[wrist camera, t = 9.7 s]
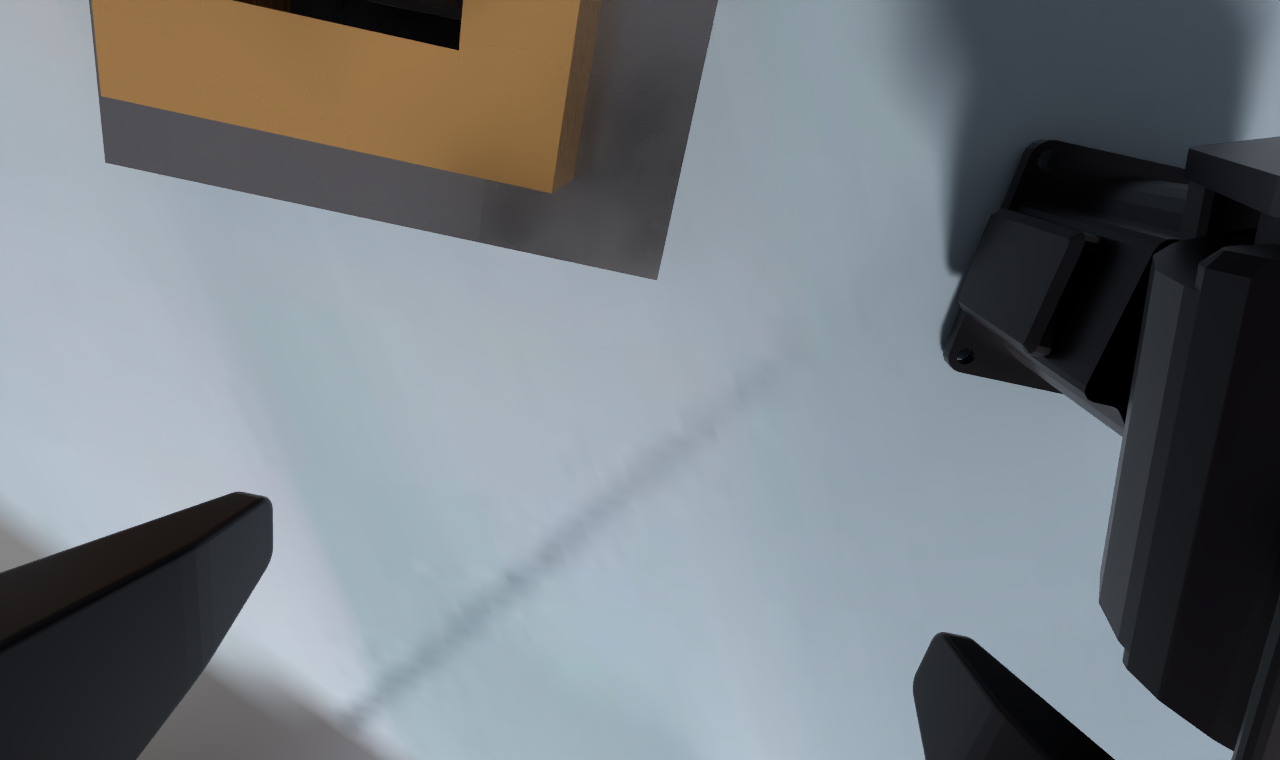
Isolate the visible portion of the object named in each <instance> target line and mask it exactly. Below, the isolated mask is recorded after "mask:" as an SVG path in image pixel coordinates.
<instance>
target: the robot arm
mask: <svg viewBox="0 0 1280 760" xmlns="http://www.w3.org/2000/svg"><path fill="white" fill-rule="evenodd" d="M1045 151H1048V152H1049V153H1050V156H1051V158H1050V162H1049V164H1048V165H1047V166H1046V167H1045V168H1043V169H1040V168H1039V166H1038V159H1039V157H1040V156H1041V154H1042V153H1044V152H1045ZM958 302H959V304H960V306H961V308H960V311H959V313H958V316H957V318H956V321H955V323H954V325H953V328H952V330H951V333H950V335H949V338H948V340H947V343H946V345H945V348H944V353H943V356H944V360H945V361H946V362H947V364H948V365H949V366H950V367H952V368H953V369H954V370H956V371H958V372H961V373H966V374H971V375H976V376H980V377H985V378H990V379H994V380H999V381H1004V382H1009V383H1013V384H1018V385H1023V386H1027V387H1032V388H1037V389H1042V390H1046V391H1051V392H1056V393H1060V394H1064V395H1066V396H1067V397H1068V398H1070V399H1071V400H1072V401H1074V402H1075V403H1077V404H1078V405H1079V406H1081V407H1082V408H1083V409H1085V410H1086V411H1088V412H1089V413H1090V414H1092V415H1093V416H1094V417H1096V418H1097V419H1098V420H1100V421H1101V422H1103V423H1104V424H1105V425H1107V426H1108V427H1109V428H1111V429H1112V430H1114V431H1115V432H1116V433H1118V434H1119V435H1120V436H1122V437H1123V439H1122V445H1121V451H1120V457H1119V463H1118V469H1117V475H1116V481H1115V487H1114V493H1113V499H1112V505H1111V511H1110V517H1109V523H1108V529H1107V535H1106V541H1105V547H1104V553H1103V559H1102V565H1101V571H1100V589H1099V604H1100V606H1101V608H1102V610H1103V612H1104V614H1105V616H1106V618H1107V620H1108V621H1109V623H1110V625H1111V627H1112V629H1113V631H1114V633H1115V635H1116V637H1117V639H1118V641H1119V642H1120V643H1121V644H1122V646H1123V647H1124V648H1125V649H1124V654H1123V663H1124V665H1125V667H1126V669H1127V670H1128V671H1129V672H1130V673H1131V674H1132V675H1134V676H1135V677H1136V678H1137V679H1138V680H1139V681H1140V682H1141V683H1142V684H1143V685H1144V686H1145V687H1146V688H1147V689H1148V690H1149V691H1150V692H1151V693H1152V694H1153V695H1154V696H1155V697H1156V698H1157V699H1158V700H1159V701H1160V702H1162V703H1163V704H1165V705H1166V706H1167V707H1169V708H1170V709H1171V710H1173V711H1174V712H1176V713H1177V714H1178V715H1180V716H1181V717H1183V718H1184V719H1185V720H1187V721H1188V722H1189V723H1191V724H1192V725H1194V726H1195V727H1196V728H1198V729H1199V730H1201V731H1202V732H1203V733H1205V734H1206V735H1207V736H1209V737H1210V738H1212V739H1213V740H1215V741H1216V742H1218V743H1220V744H1222V745H1223V746H1225V747H1227V748H1229V749H1231V750H1232V751H1234V753H1233V757H1232V760H1280V137H1272V138H1263V139H1254V140H1246V141H1237V142H1228V143H1220V144H1211V145H1202V146H1194V147H1190V148H1189V150H1188V156H1187V162H1186V167H1185V169H1182V168H1178V167H1173V166H1169V165H1164V164H1160V163H1155V162H1151V161H1146V160H1142V159H1137V158H1133V157H1129V156H1124V155H1120V154H1115V153H1111V152H1106V151H1102V150H1097V149H1093V148H1088V147H1084V146H1079V145H1075V144H1070V143H1066V142H1061V141H1057V140H1039V141H1036V142H1034V143H1032V144H1031V145H1030V146H1029V147H1027V148H1026V150H1025V152H1024V153H1023V155H1022V157H1021V159H1020V162H1019V164H1018V167H1017V169H1016V172H1015V174H1014V177H1013V179H1012V182H1011V184H1010V187H1009V189H1008V192H1007V194H1006V197H1005V199H1004V202H1003V204H1002V207H1001V209H1000V210H998V211H997V212H995V213H994V214H992V215H991V216H990V218H989V221H988V223H987V226H986V228H985V231H984V233H983V236H982V238H981V241H980V243H979V246H978V248H977V251H976V253H975V256H974V258H973V261H972V263H971V266H970V268H969V271H968V273H967V276H966V278H965V281H964V283H963V286H962V288H961V291H960V293H959V296H958ZM964 348H969V349H970V351H969V354H968V356H967V357H966V358H964V359H962V360H957V355H958V353H959V352H960V351H961V350H962V349H964ZM272 552H273V508H272V503H271V501H270V500H269V499H268V498H267V497H265V496H260V495H255V494H250V493H245V492H234V493H230V494H228V495H225V496H222V497H219V498H216V499H213V500H210V501H207V502H204V503H201V504H199V505H196V506H193V507H190V508H187V509H184V510H181V511H178V512H175V513H172V514H170V515H167V516H164V517H161V518H158V519H155V520H152V521H149V522H146V523H143V524H140V525H138V526H135V527H132V528H129V529H126V530H123V531H120V532H117V533H114V534H111V535H109V536H106V537H103V538H100V539H97V540H94V541H91V542H88V543H85V544H82V545H80V546H77V547H74V548H71V549H68V550H65V551H62V552H59V553H56V554H53V555H50V556H48V557H45V558H42V559H39V560H36V561H33V562H30V563H27V564H24V565H22V566H19V567H16V568H13V569H10V570H7V571H4V572H1V573H0V760H136V759H137V758H138V757H139V755H140V754H141V753H142V751H143V750H144V749H145V747H146V746H147V745H148V744H149V742H150V741H151V739H152V738H153V737H154V736H155V734H156V733H157V731H158V730H159V729H160V728H161V726H162V725H163V724H164V723H165V721H166V720H167V718H168V717H169V716H170V715H171V713H172V712H173V711H174V709H175V708H176V707H177V705H178V704H179V703H180V701H181V700H182V699H183V698H184V696H185V694H187V692H188V691H189V690H190V688H191V687H192V685H193V684H194V683H195V681H196V680H197V679H198V677H199V676H200V675H201V673H202V672H203V670H204V669H205V667H206V666H207V664H208V663H209V661H210V660H211V658H212V656H213V655H214V653H215V652H216V650H217V649H218V647H219V645H220V644H221V642H222V640H223V639H224V637H225V635H226V634H227V632H228V631H229V629H230V627H231V626H232V624H233V622H234V621H235V619H236V617H237V616H238V614H239V613H240V611H241V609H242V608H243V606H244V604H245V603H246V601H247V599H248V598H249V596H250V595H251V593H252V591H253V590H254V588H255V586H256V585H257V583H258V581H259V580H260V578H261V576H262V575H263V573H264V572H265V570H266V568H267V566H268V564H269V562H270V559H271V556H272ZM913 695H914V701H915V707H916V712H917V717H918V723H919V728H920V733H921V739H922V744H923V749H924V755H925V760H1115V759H1113V758H1112V757H1111V756H1110V755H1109V754H1108V753H1106V752H1105V751H1104V750H1103V749H1102V748H1100V747H1099V746H1098V745H1097V744H1096V743H1095V742H1093V741H1092V740H1091V739H1090V738H1089V737H1087V736H1086V735H1085V734H1084V733H1083V732H1082V731H1080V730H1079V729H1078V728H1077V727H1076V726H1074V725H1073V724H1072V723H1071V722H1070V721H1069V720H1067V719H1066V718H1065V717H1064V716H1063V715H1061V714H1060V713H1059V712H1058V711H1057V710H1056V709H1054V708H1053V707H1052V706H1051V705H1050V704H1048V703H1047V702H1046V701H1045V700H1044V699H1043V698H1041V697H1040V696H1039V695H1038V694H1037V693H1035V692H1034V691H1033V690H1032V689H1031V688H1030V687H1028V686H1027V685H1026V684H1025V683H1024V682H1022V681H1021V680H1020V679H1019V678H1018V677H1017V676H1015V675H1014V674H1013V673H1012V672H1011V671H1009V670H1008V669H1007V668H1006V667H1005V666H1004V665H1002V664H1001V663H1000V662H999V661H998V660H996V659H995V658H994V657H993V656H992V655H991V654H989V653H988V652H987V651H986V650H985V649H983V648H982V647H981V646H980V645H979V644H978V643H976V642H975V641H974V640H973V639H971V638H969V637H966V636H961V635H956V634H951V633H946V632H941V633H938V634H936V635H935V636H934V638H933V639H932V641H931V643H930V645H929V647H928V649H927V651H926V653H925V655H924V657H923V660H922V662H921V664H920V666H919V668H918V670H917V672H916V674H915V677H914V681H913Z"/></svg>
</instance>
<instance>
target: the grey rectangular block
mask: <svg viewBox="0 0 1280 760" xmlns="http://www.w3.org/2000/svg"><path fill="white" fill-rule="evenodd" d="M369 1H371V2H374V3H377V4H382V5H387V6H392V7H397V8H402V9H407V10H412V11H417V12H422V13H427V14H432V15H437V16H442V17H447V18H452V19H457V20H462V9H463V0H369Z"/></svg>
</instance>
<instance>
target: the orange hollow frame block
mask: <svg viewBox="0 0 1280 760" xmlns="http://www.w3.org/2000/svg"><path fill="white" fill-rule="evenodd" d="M717 2H718V0H463V9H462V20H461V31H460V42H459V50H454V49H450V48H445V47H441V46H436V45H432V44H427V43H423V42H418V41H414V40H409V39H405V38H400V37H396V36H391V35H387V34H382V33H377V32H373V31H368V30H364V29H359V28H355V27H350V26H346V25H341V23H342V0H89V4H90V14H91V23H92V33H93V43H94V53H95V63H96V73H97V83H98V93H99V103H100V113H101V123H102V133H103V143H104V153H105V163H110V164H115V165H119V166H124V167H129V168H133V169H138V170H143V171H147V172H152V173H157V174H161V175H166V176H171V177H176V178H180V179H185V180H190V181H194V182H199V183H204V184H208V185H213V186H218V187H222V188H227V189H232V190H236V191H241V192H246V193H251V194H255V195H260V196H265V197H269V198H274V199H279V200H283V201H288V202H293V203H297V204H302V205H307V206H311V207H316V208H321V209H326V210H330V211H335V212H340V213H344V214H349V215H354V216H358V217H363V218H368V219H372V220H377V221H382V222H386V223H391V224H396V225H401V226H405V227H410V228H415V229H419V230H424V231H429V232H433V233H438V234H443V235H447V236H452V237H457V238H461V239H466V240H471V241H476V242H480V243H485V244H490V245H494V246H499V247H504V248H508V249H513V250H518V251H522V252H527V253H532V254H537V255H541V256H546V257H551V258H555V259H560V260H565V261H569V262H574V263H579V264H583V265H588V266H593V267H597V268H602V269H607V270H612V271H616V272H621V273H626V274H630V275H635V276H640V277H644V278H649V279H654V280H657V277H658V273H659V268H660V264H661V259H662V254H663V250H664V245H665V241H666V236H667V231H668V227H669V222H670V218H671V213H672V209H673V204H674V199H675V195H676V190H677V186H678V181H679V176H680V172H681V167H682V163H683V158H684V153H685V149H686V144H687V140H688V135H689V131H690V126H691V121H692V117H693V112H694V108H695V103H696V98H697V94H698V89H699V85H700V80H701V75H702V71H703V66H704V62H705V57H706V53H707V48H708V43H709V39H710V34H711V30H712V25H713V20H714V16H715V11H716V7H717Z"/></svg>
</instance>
